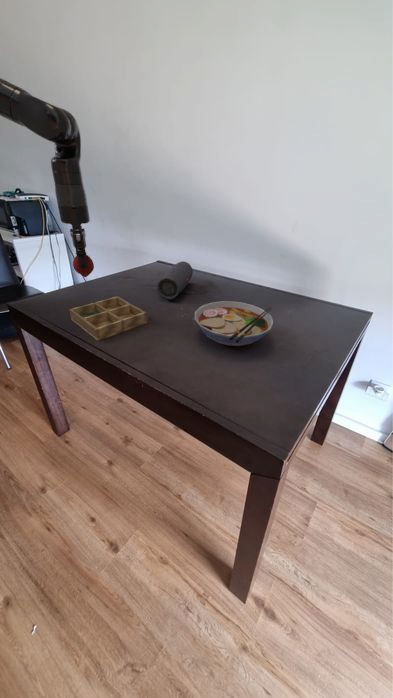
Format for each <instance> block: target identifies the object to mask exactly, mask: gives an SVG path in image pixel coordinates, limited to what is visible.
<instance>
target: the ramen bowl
mask: <svg viewBox="0 0 393 698" xmlns="http://www.w3.org/2000/svg"><path fill="white" fill-rule="evenodd" d="M272 308H273V307H268V308H267V309H266V310H264V309H263V308H260V307H259V306H255V305H253V304H250V303H245V302H242V301H241V302H240V301H232V300H231V301H228V300H222V301H214V302H210V303H205V304H203V305H201V306H199V307H198V308H197V309H196V310H195V311H194V320H195V323H196V324H197V326H198V327H199V329H200V330H201V331H202V332H203V334H204V335H205V336H206V337H207V338H209V339H211V340H212V341H214V342H216V343H218V344H222V345H226V346H233V347H241V346H245V345H250V344H253V343H255V342H257V341H258V340H260V339H262V338H263V337H265V336H266V335H267V334H268V333H269V331H270V330H271V329H272V327H273V324H274V320H273V317H272V315H271V314H270V313H269V312H270V311H271V310H272Z"/></svg>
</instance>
